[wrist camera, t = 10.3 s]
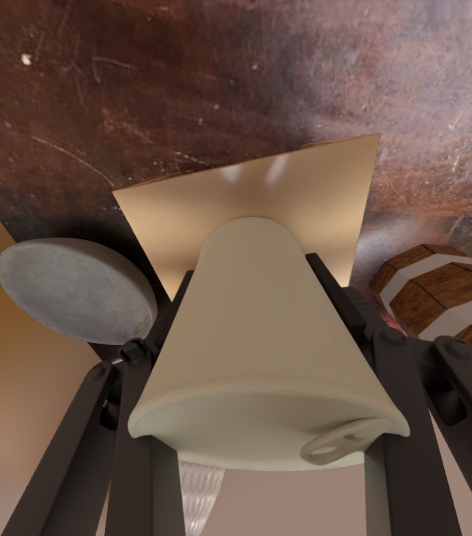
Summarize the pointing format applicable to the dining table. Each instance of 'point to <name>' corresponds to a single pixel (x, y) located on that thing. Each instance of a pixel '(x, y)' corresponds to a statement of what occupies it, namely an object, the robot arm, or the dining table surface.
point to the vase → (198, 493)
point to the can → (262, 364)
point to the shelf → (257, 205)
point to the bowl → (79, 289)
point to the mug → (428, 292)
